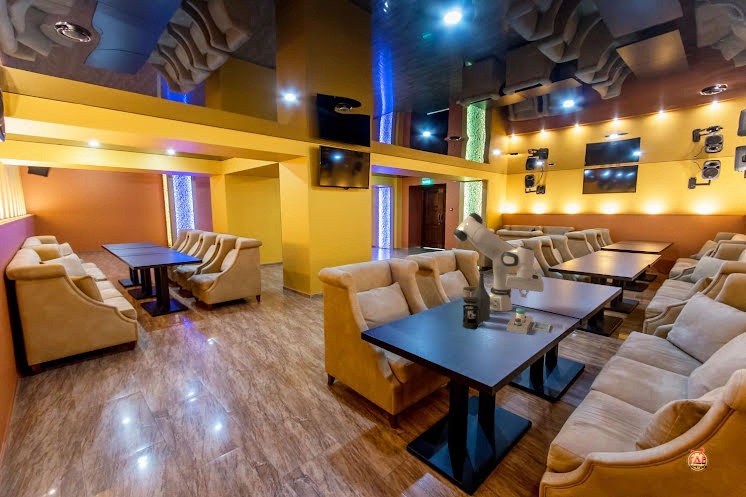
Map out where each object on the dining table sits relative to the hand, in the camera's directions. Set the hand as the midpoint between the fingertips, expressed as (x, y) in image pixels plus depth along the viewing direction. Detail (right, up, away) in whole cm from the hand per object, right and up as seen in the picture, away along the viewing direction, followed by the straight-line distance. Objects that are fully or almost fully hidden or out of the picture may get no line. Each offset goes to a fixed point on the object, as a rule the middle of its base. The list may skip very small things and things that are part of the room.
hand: (523, 297), depth 189 cm
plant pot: (-21, -15, +28) cm, 38 cm away
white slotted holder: (-4, -18, -4) cm, 19 cm away
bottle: (-22, -17, +11) cm, 29 cm away
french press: (-30, -18, +1) cm, 35 cm away
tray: (+7, -18, -7) cm, 20 cm away
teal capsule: (-4, -16, -5) cm, 17 cm away
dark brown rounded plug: (-8, -14, -11) cm, 20 cm away
